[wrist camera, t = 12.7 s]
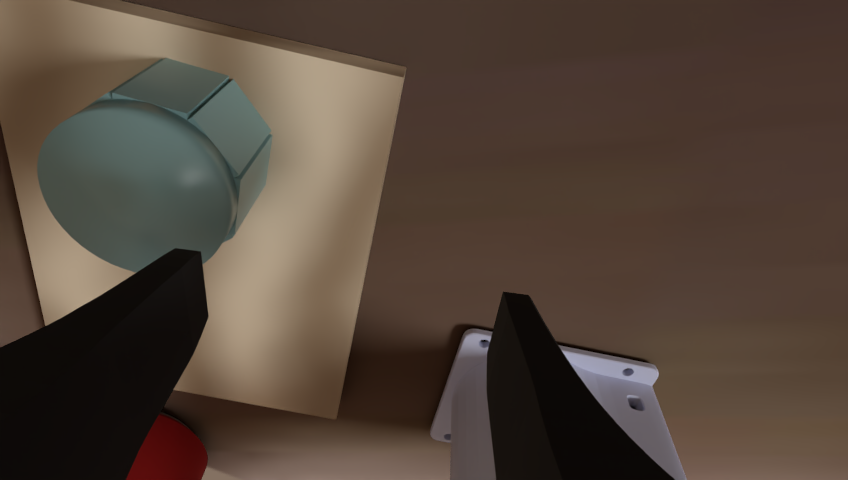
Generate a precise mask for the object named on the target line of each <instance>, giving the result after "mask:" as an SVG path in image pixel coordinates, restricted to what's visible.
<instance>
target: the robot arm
mask: <svg viewBox="0 0 848 480" xmlns="http://www.w3.org/2000/svg"><path fill="white" fill-rule="evenodd" d="M208 317H209V315H208V307H207V298H206V290H205V281H204V273H203V264H202V255H201V251H194V250H187V249H179V248H174V249H173V250H171V251H169V252H168V253H166V254H164V255H163V256H161V257H160V258H158V259H157V260H155V261H153V262H152V263H150V264H149V265H147V266H146V267H144V268H143V269H141V270H140V271H138V272H137V273H135V274H133V275H132V276H130V277H129V278H127V279H126V280H124V281H122V282H121V283H119V284H118V285H116V286H115V287H113V288H111V289H110V290H108V291H107V292H105V293H103V294H102V295H100V296H98V297H97V298H95V299H93V300H91V301H90V302H88V303H86V304H84V305H83V306H81V307H79V308H77V309H76V310H74V311H72V312H71V313H69V314H67V315H65V316H64V317H62V318H60V319H58V320H56V321H54V322H52V323H51V324H49V325H47V326H45V327H43V328H41V329H39V330H37V331H35V332H33V333H31V334H29V335H26V336H24V337H22V338H20V339H18V340H16V341H14V342H12V343H9V344H7V345H5V346H3V347H1V348H0V480H126V479H127V476H128V474H129V472H130V470H131V467H132V465H133V463H134V461H135V458H136V456H137V454H138V452H139V450H140V448H141V446H142V444H143V442H144V440H145V438H146V436H147V434H148V433H149V431H150V429H151V427H152V426H153V424H154V422H155V420H156V419H157V417H158V415H159V414H160V412H161V410H162V408H163V407H164V405H165V403H166V402H167V400H168V398H169V396H170V395H171V393H172V391H173V389H174V388H175V386H176V384H177V383H178V381H179V379H180V377H181V376H182V374H183V372H184V370H185V369H186V367H187V365H188V363H189V361H190V360H191V358H192V356H193V354H194V352H195V350H196V347H197V345H198V343H199V340H200V338H201V335H202V333H203V330H204V328H205V325H206V322H207V320H208ZM481 340H488V341H486V342H482V341H481ZM627 368H630V369H628V370H624V369H627ZM658 375H659V373H658V370H657V368H656V366H655V365H653V364H650V363H645V362H640V361H635V360H630V359H625V358H620V357H615V356H610V355H605V354H600V353H595V352H590V351H585V350H580V349H575V348H570V347H565V346H560V345H558V344H557V342H556V341H555V339H554V338H553V336H552V334H551V333H550V331H549V329H548V328H547V326H546V324H545V322H544V321H543V319H542V317H541V315H540V314H539V312H538V310H537V308H536V306H535V305H534V303H533V301H532V299H531V298H530V297H529V295H524V294H516V293H509V292H503V294H502V298H501V302H500V306H499V309H498V313H497V317H496V321H495V325H494V328H493V332H490V331H485V330H480V329H468V330H467V331H465V332H464V334H463V336H462V339H461V342H460V345H459V348H458V351H457V354H456V357H455V359H454V362H453V365H452V368H451V371H450V374H449V377H448V380H447V382H446V385H445V388H444V391H443V394H442V397H441V400H440V402H439V405H438V408H437V411H436V414H435V417H434V420H433V423H432V425H431V429H430V436H431V437H432V438H433V439H434V440H437V441H443V442H448V443H451V460H450V480H687V479H686V476H685V473H684V471H683V468H682V465H681V463H680V460H679V457H678V455H677V452H676V449H675V446H674V444H673V441H672V438H671V436H670V433H669V430H668V428H667V425H666V422H665V420H664V417H663V414H662V412H661V409H660V406H659V403H658V401H657V398H656V395H655V393H654V390H653V387H652V386H653V384H654V382H655V381H656V379H657V378H658Z"/></svg>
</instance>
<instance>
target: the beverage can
mask: <svg viewBox="0 0 848 480" xmlns="http://www.w3.org/2000/svg"><path fill="white" fill-rule="evenodd" d="M207 461H208V457H207V452H206V449H205V447H204V445H203V443H202V442H201V440H200V439H199V438H198V437H197V436H196V435H195V434H194V433H193V432H192V431H191V430H190V429H189V428H188V427H187V426H186V425H185V424H184V423H182V422H181V421H180V420H178V419H176V418H174V417H173V416H170V415H168V414H165V413H163V412H160V414H159V415H158V417H157V419H156V420H155V422H154V424H153V426H152V427H151V429H150V431H149V433H148V434H147V436H146V438H145V440H144V442H143V444H142V446H141V448H140V450H139V452H138V454H137V456H136V458H135V461H134V463H133V465H132V467H131V470H130V472H129V474H128V476H127V479H126V480H201V479H202V476H203V474H204V471H205V469H206V466H207Z"/></svg>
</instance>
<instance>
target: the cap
mask: <svg viewBox="0 0 848 480" xmlns="http://www.w3.org/2000/svg"><path fill="white" fill-rule="evenodd" d="M270 132H271V129H270V128H269V126H268V125H267V124H266V122H265V121H264V120H263V118H262V117H261V116H260V114H259V113H258V112H257V110H256V109H255V107H254V106H253V105H252V103H251V102H250V101H249V99H248V98H247V97H246V95H245V94H244V93H243V91H242V90H241V88H240V87H239V86H238V84H237V83H236V82H235V80H234V79H233V80H231V81H229V76H228V75H224V74H221V73H217V72H214V71H210V70H207V69H203V68H200V67H196V66H193V65H189V64H186V63H182V62H179V61H176V60H172V59H169V58H165V59H164V60H163V59H160V60H158V61H157V62H155V63H154V64H152V65H151V66H149V67H147V68H146V69H144V70H143V71H141V72H139V73H138V74H136V75H135V76H133V77H132V78H130V79H128V80H127V81H125V82H124V83H122V84H121V85H119V86H117V87H116V88H114V89H113V90H111V91H110V92H108V93H106V94H105V95H103V96H102V97H100V98H99V99H97V100H96V101H94V102H93V103H91V104H90V105H88V106H87V107H85V108H84V109H82V110H81V111H79V112H78V113H76V114H74V115H73V116H71V117H70V118H68V119H67V120H65V121H63V122H62V123H60V124H59V125H58V126H57V127H55V128H54V129H53V130H52V131H51V132H50V134H49V135H48V136H47V137H46V139H45V141H44V142H43V144H42V146H41V149H40V152H39V156H38V163H37V173H38V181H39V186H40V189H41V192H42V195H43V198H44V200H45V202H46V204H47V206H48V208H49V210H50V211H51V213H52V214H53V216H54V218H55V219H56V220H57V222H58V223H59V224H60V225H61V227H62V228H63V229H64V230H65V231H66V232H67V233H68V234H69V235H70V236H71V237H72V238H73V239H74V240H75V241H76V242H78V243H79V244H80V245H81V246H82V247H84V248H85V249H87V250H88V251H89V252H91V253H92V254H94V255H96V256H97V257H99V258H101V259H102V260H104V261H106V262H108V263H110V264H113V265H115V266H118V267H120V268H123V269H126V270H129V271H133V272H138V271H140V270H141V269H143V268H144V267H146V266H147V265H149V264H150V263H152V262H153V261H155V260H157V259H158V258H160V257H161V256H163V255H164V254H166V253H168V252H169V251H171V250H173V249H174V248H179V249H187V250H194V251H201V255H202V264H204V263H205V262H207V261H208V260H209V259H210V258H211V257H212V256H213V255H214V254H215V253H216V252H217V250H218V249H219V247H220V246H221V244H222V243H224V242H226V241H228V240H230V239H232V238H233V236H234V235H235V234H236V232H237V230H238V229H239V227H240V226H241V224H242V222H243V221H244V219H245V217H246V216H247V214H248V213H249V211H250V209H251V208H252V206H253V204H254V203H255V201H256V200H257V198H258V196H259V195H260V193H261V191H262V190H263V188H264V187H265V185H266V179H267V172H268V165H269V158H270V150H271V143H272V136H273V135H272V134H269V133H270Z"/></svg>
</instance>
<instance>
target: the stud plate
mask: <svg viewBox="0 0 848 480" xmlns="http://www.w3.org/2000/svg"><path fill="white" fill-rule="evenodd" d="M165 58H169V59H172V60H176V61H179V62H182V63H186V64H189V65H193V66H196V67H200V68H203V69H207V70H210V71H214V72H217V73H221V74H224V75H228V76H229V81H231V80H233V79H234V80H235V82H236V83H237V84H238V86H239V87H240V88H241V90H242V91H243V93H244V94H245V95H246V97H247V98H248V99H249V101H250V102H251V103H252V105H253V106H254V107H255V109H256V110H257V112H258V113H259V114H260V116H261V117H262V118H263V120H264V121H265V122H266V124H267V125H268V126H269V128H270V129H271V132H270V133H269V134H272V135H273V136H272V143H271V150H270V158H269V165H268V172H267V179H266V185H265V187H264V188H263V190H262V191H261V193H260V195H259V196H258V198H257V200H256V201H255V203H254V204H253V206H252V208H251V209H250V211H249V213H248V214H247V216H246V217H245V219H244V221H243V222H242V224H241V226H240V227H239V229H238V230H237V232H236V234H235V235H234V236H233V238H232V239H230V240H228V241H226V242H224V243H222V244H221V246H220V247H219V249H218V250H217V252H216V253H215V254H214V255H213V256H212V257H211V258H210V259H209V260H208V261H207V262H205V263H204V264H203V273H204V281H205V290H206V298H207V307H208V315H209V317H208V320H207V322H206V325H205V328H204V330H203V333H202V335H201V338H200V340H199V343H198V345H197V347H196V350H195V352H194V354H193V356H192V358H191V360H190V361H189V363H188V365H187V367H186V369H185V370H184V372H183V374H182V376H181V377H180V379H179V381H178V383H177V384H176V386H175V388H174V389H173V390H177V391H183V392H188V393H194V394H199V395H204V396H210V397H215V398H221V399H226V400H232V401H237V402H242V403H248V404H253V405H259V406H264V407H270V408H275V409H280V410H286V411H291V412H297V413H302V414H308V415H313V416H318V417H324V418H329V419H335V420H336V418H337V414H338V409H339V405H340V400H341V395H342V390H343V385H344V380H345V375H346V370H347V365H348V360H349V355H350V350H351V345H352V340H353V335H354V330H355V325H356V320H357V315H358V310H359V305H360V300H361V294H362V289H363V284H364V279H365V274H366V269H367V264H368V259H369V254H370V249H371V244H372V239H373V234H374V229H375V224H376V219H377V214H378V209H379V204H380V199H381V194H382V189H383V184H384V179H385V174H386V168H387V163H388V158H389V153H390V148H391V143H392V138H393V133H394V128H395V123H396V118H397V113H398V108H399V103H400V98H401V93H402V88H403V83H404V78H405V73H406V68H407V67H404V66H400V65H395V64H391V63H387V62H383V61H378V60H374V59H370V58H365V57H361V56H357V55H352V54H348V53H344V52H340V51H335V50H331V49H327V48H322V47H318V46H314V45H310V44H305V43H301V42H297V41H292V40H288V39H284V38H279V37H275V36H271V35H267V34H262V33H258V32H254V31H249V30H245V29H241V28H237V27H232V26H228V25H224V24H219V23H215V22H211V21H206V20H202V19H198V18H194V17H189V16H185V15H181V14H176V13H172V12H168V11H164V10H159V9H155V8H151V7H146V6H142V5H138V4H133V3H129V2H125V1H121V0H0V123H1V127H2V132H3V136H4V141H5V145H6V150H7V154H8V159H9V163H10V168H11V172H12V177H13V181H14V186H15V191H16V195H17V200H18V204H19V209H20V213H21V218H22V222H23V227H24V231H25V236H26V240H27V245H28V249H29V254H30V259H31V263H32V268H33V272H34V277H35V281H36V286H37V290H38V295H39V299H40V304H41V308H42V313H43V317H44V322H45V326H47V325H49V324H51V323H52V322H54V321H56V320H58V319H60V318H62V317H64V316H65V315H67V314H69V313H71V312H72V311H74V310H76V309H77V308H79V307H81V306H83V305H84V304H86V303H88V302H90V301H91V300H93V299H95V298H97V297H98V296H100V295H102V294H103V293H105V292H107V291H108V290H110V289H111V288H113V287H115V286H116V285H118V284H119V283H121V282H122V281H124V280H126V279H127V278H129V277H130V276H132V275H133V274H135V273H137V272H133V271H129V270H126V269H123V268H120V267H118V266H115V265H113V264H110V263H108V262H106V261H104V260H102V259H101V258H99V257H97V256H96V255H94V254H92V253H91V252H89V251H88V250H87V249H85V248H84V247H82V246H81V245H80V244H79V243H78V242H76V241H75V240H74V239H73V238H72V237H71V236H70V235H69V234H68V233H67V232H66V231H65V230H64V229H63V228H62V227H61V225H60V224H59V223H58V222H57V220H56V219H55V218H54V216H53V214H52V213H51V211H50V210H49V208H48V206H47V204H46V202H45V200H44V198H43V195H42V192H41V189H40V186H39V181H38V173H37V163H38V156H39V152H40V149H41V146H42V144H43V142H44V141H45V139H46V137H47V136H48V135H49V134H50V132H51V131H52V130H53V129H54V128H55V127H57V126H58V125H59V124H60V123H62V122H63V121H65V120H67V119H68V118H70V117H71V116H73V115H74V114H76V113H78V112H79V111H81V110H82V109H84V108H85V107H87V106H88V105H90V104H91V103H93V102H94V101H96V100H97V99H99V98H100V97H102V96H103V95H105V94H106V93H108V92H110V91H111V90H113V89H114V88H116V87H117V86H119V85H121V84H122V83H124V82H125V81H127V80H128V79H130V78H132V77H133V76H135V75H136V74H138V73H139V72H141V71H143V70H144V69H146V68H147V67H149V66H151V65H152V64H154V63H155V62H157V61H158V60H160V59H163V60H164V59H165Z"/></svg>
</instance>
